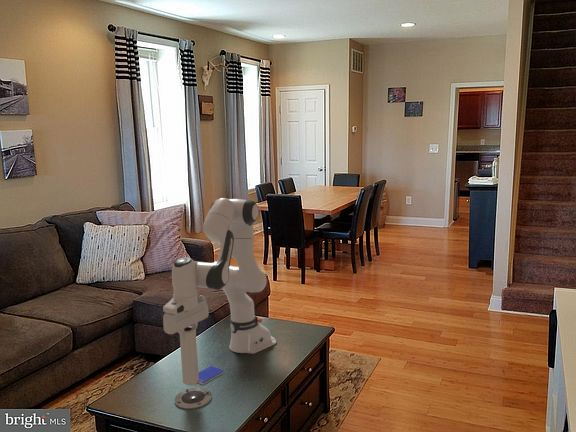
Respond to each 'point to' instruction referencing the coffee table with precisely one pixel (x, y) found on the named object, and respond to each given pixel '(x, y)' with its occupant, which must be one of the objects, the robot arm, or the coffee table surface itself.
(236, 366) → the coffee table surface
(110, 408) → the coffee table surface
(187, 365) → the paper towel roll
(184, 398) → the duct flange
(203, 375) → the hard drive
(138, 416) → the coffee table surface
